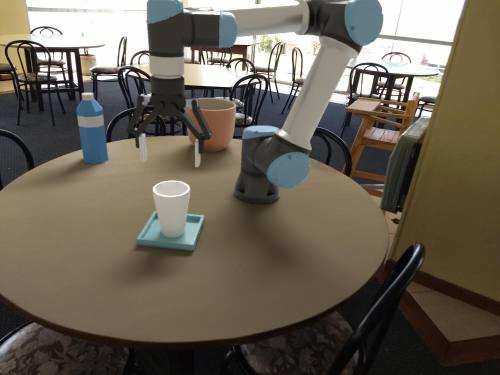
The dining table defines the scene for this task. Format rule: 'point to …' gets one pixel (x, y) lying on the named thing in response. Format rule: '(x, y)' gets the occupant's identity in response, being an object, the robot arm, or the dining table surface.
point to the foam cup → (171, 206)
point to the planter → (215, 122)
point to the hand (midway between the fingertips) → (170, 162)
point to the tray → (186, 241)
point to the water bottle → (92, 130)
